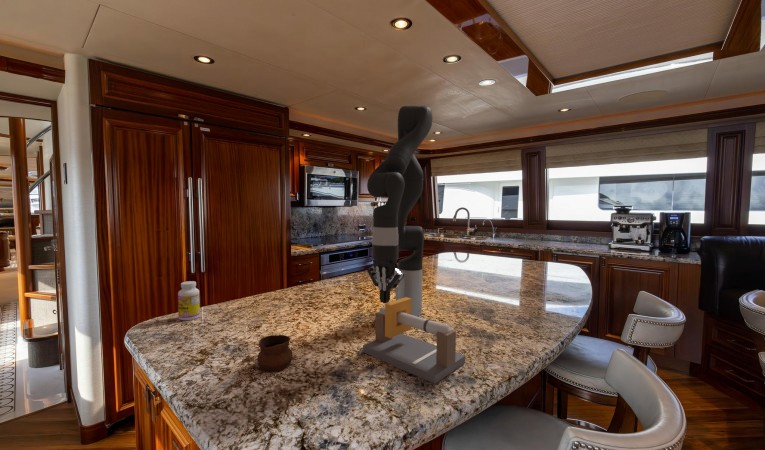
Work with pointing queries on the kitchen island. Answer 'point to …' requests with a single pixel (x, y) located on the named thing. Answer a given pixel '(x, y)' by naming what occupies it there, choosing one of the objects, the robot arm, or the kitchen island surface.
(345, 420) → the kitchen island surface
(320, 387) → the kitchen island surface
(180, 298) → the supplement bottle
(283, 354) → the ceramic pot
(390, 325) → the orange square ring
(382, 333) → the pipe stand
